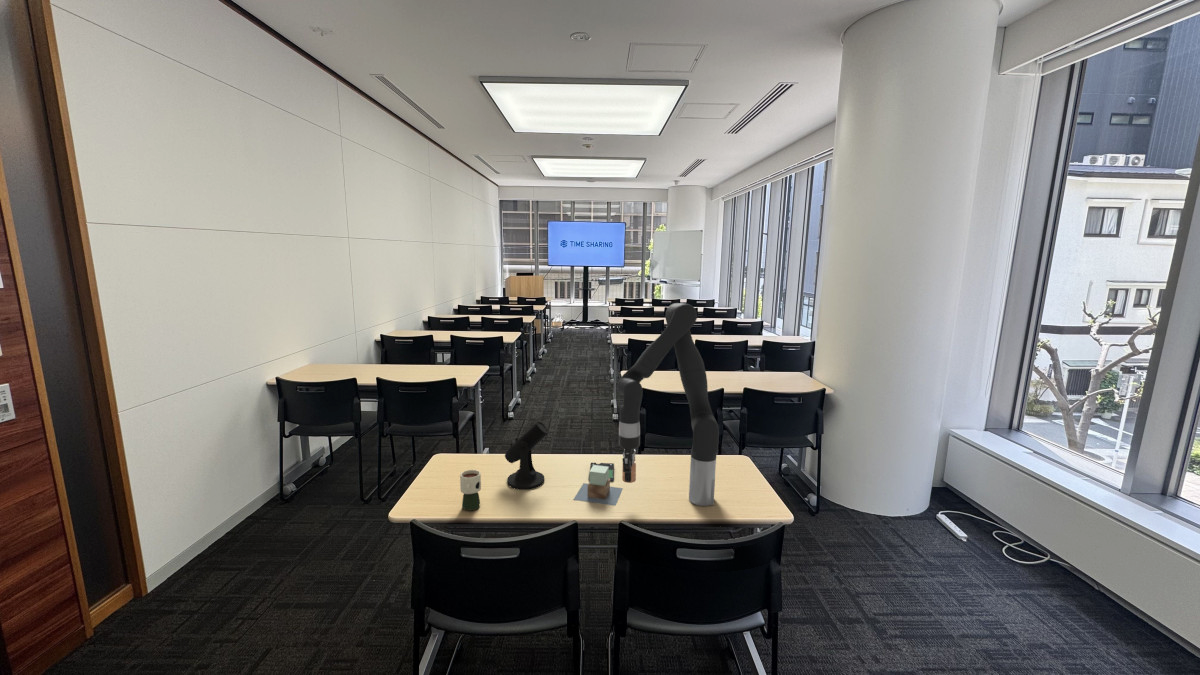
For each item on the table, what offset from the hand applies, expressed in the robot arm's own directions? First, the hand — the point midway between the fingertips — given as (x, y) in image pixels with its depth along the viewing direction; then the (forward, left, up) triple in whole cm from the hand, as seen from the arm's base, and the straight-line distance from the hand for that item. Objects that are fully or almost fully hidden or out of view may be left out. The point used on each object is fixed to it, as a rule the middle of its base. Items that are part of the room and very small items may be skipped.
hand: (629, 478), depth 175 cm
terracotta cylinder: (0, 0, -1) cm, 1 cm away
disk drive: (+16, -23, -12) cm, 31 cm away
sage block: (+12, -5, -5) cm, 15 cm away
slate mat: (+12, -5, -11) cm, 18 cm away
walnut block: (+12, -5, -10) cm, 17 cm away
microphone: (+43, -9, -11) cm, 46 cm away
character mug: (+54, +16, -11) cm, 58 cm away
